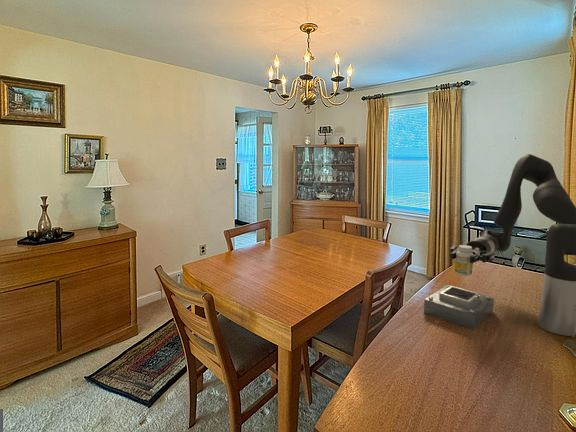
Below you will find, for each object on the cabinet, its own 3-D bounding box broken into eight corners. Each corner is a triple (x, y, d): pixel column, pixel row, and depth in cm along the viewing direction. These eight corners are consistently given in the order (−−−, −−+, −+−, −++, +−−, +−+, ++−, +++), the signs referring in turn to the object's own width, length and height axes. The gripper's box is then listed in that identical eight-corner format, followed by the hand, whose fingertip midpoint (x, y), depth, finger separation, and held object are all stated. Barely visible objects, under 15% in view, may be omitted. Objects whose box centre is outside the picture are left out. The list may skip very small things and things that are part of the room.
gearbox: (492, 311, 111) (494, 292, 110) (473, 330, 99) (475, 309, 98) (445, 297, 123) (446, 280, 121) (423, 312, 111) (424, 293, 110)
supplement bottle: (460, 276, 107) (462, 249, 105) (451, 271, 112) (453, 244, 111) (475, 275, 108) (478, 248, 106) (465, 270, 113) (467, 244, 111)
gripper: (460, 235, 123) (440, 243, 112) (503, 242, 112) (486, 252, 101) (458, 253, 124) (439, 263, 113) (501, 262, 113) (484, 274, 102)
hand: (461, 258), depth 107 cm, fingers closed on supplement bottle, 5 cm apart
